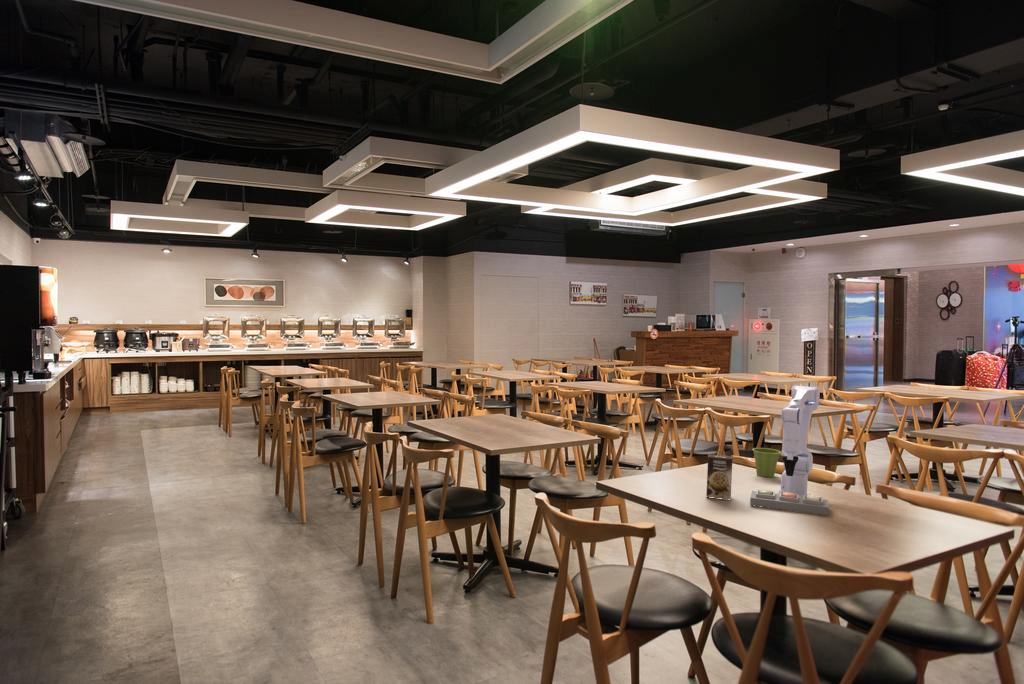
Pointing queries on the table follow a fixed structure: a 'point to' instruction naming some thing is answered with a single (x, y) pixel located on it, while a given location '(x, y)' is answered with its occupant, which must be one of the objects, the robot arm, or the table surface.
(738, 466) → the table surface
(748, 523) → the table surface
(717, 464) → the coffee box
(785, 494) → the terracotta button
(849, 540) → the table surface
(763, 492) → the sage button
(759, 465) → the plant pot
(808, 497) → the cream button
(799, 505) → the button panel
